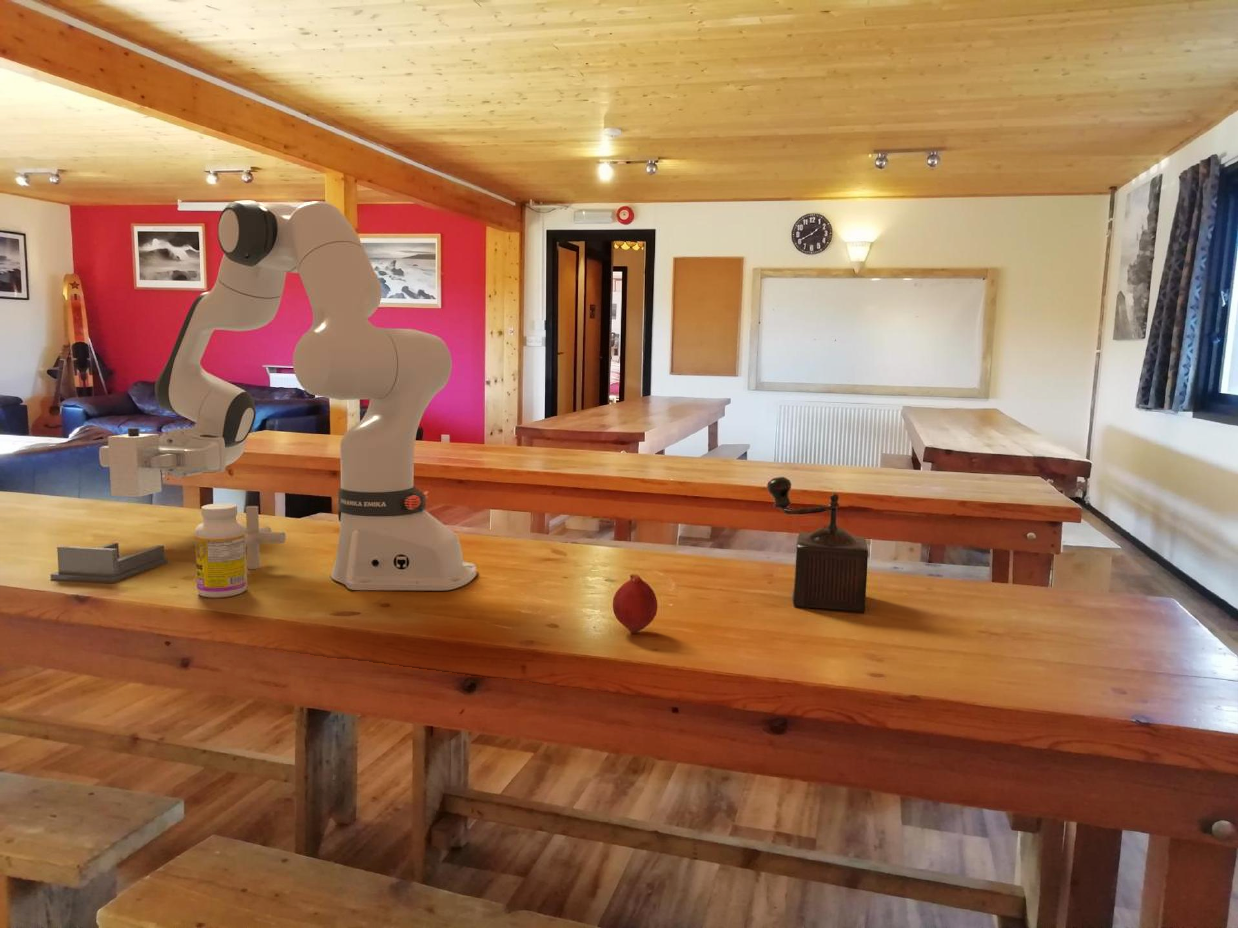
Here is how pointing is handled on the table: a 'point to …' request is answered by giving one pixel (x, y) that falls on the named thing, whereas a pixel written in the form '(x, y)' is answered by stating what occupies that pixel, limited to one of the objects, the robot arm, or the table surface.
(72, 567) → the tray
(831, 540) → the manual coffee grinder
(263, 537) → the pipe connector
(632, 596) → the onion
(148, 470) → the block
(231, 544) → the supplement bottle
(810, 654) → the table surface
